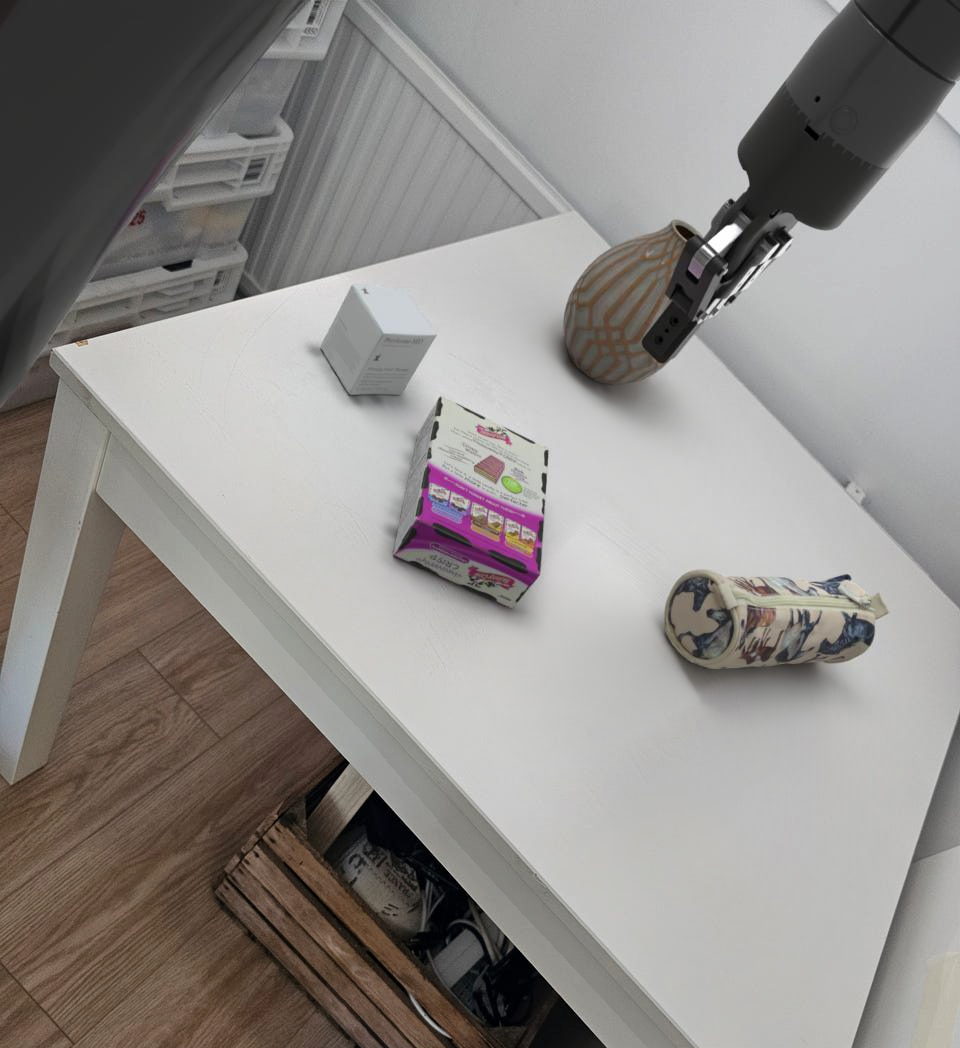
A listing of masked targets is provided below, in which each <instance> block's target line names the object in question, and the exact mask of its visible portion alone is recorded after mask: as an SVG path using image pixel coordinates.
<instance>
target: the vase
mask: <svg viewBox="0 0 960 1048" xmlns="http://www.w3.org/2000/svg"><path fill="white" fill-rule="evenodd" d="M696 234H698V235H699V236H700V237H701V238H702V239H703V238H704V236H703V235H702V233H700V231H698V230H697V229H696V228H695V227H694V226H693V225H691V224H689V223H688V222H686V221H684V220H682V219H677V218H675V219H672V220H671V221H670V222H669V223H668V224H667V225H666V226H664V227H663V228H660V229H658V230H657V231H654V232H650V233H647V234H643V235H639V236H637V237H633V238H630V239H627V240H625V241H622V242H620V243H618V244H616V245H614V246H612V247H610V248H609V249H607V250H606V251H604V252H603V253H602V254H600V255H598V256H597V257H596V258H595V259H594V260H593V261H592V262H591V263H590V264H589V265H588V266H587V267H586V269H585V270H584V271H582V274H581V275H580V276H579V277H578V278H577V280H576V282H575V284H574V286H573V287H572V289H571V291H570V293H569V295H568V298H567V302H566V303H565V309H564V313H563V321H562V323H563V327H562V329H563V336H564V341H565V344H566V345H565V346H566V348H567V353H568V356H569V357H570V359H571V361H572V362H573V364H574V365H575V366H576V368H578V369H579V371H581V373H583V374H585V376H587V377H589V378H590V379H592V380H594V381H595V382H599V383H601V384H606V385H627V384H633V383H637V382H639V381H643V380H646V379H647V378H649V377H651V376H653V375H654V374H656V373H658V372H659V371H660V370H662V369H663V368H664V367H665V366H667V365H668V363H670V361H671V360H669V361H667V362H665V363H659V362H657V361H656V360H655V359H654V358H653V357H652V356H651V355H650V354H649V353H648V352H647V351H646V350H645V349H644V348H643V346H642V339H643V338H644V336H645V335H646V334H647V332H648V331H649V330H650V329H651V327H652V326H653V325H654V323H655V322H656V321H657V320H658V318H659V317H660V316H661V314H662V313H663V312H664V311H665V309H666V308H667V307H668V305H669V304H670V303H671V302H672V300H670V299H669V298H668V297H667V296H666V295H665V292H666V289H667V287H668V284H669V282H670V280H671V277H672V275H673V272H674V270H675V267H676V265H677V263H678V260H679V258H680V255H681V253H682V250H683V248H684V247H685V244H686V242H687V241H688V240H689V239H690V238H692V237H693V236H695V235H696Z"/></svg>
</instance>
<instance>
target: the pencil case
mask: <svg viewBox="0 0 960 1048" xmlns="http://www.w3.org/2000/svg"><path fill="white" fill-rule="evenodd" d="M666 598H667V599H666V600H665V604H664V613H663V626H664V633H665V634H666V636H667V638H668V639H669V641H670V643H671V644H672V646H673V647H674V648H675V649H676V651H677V652H678V653H679V654H680V655H681V656H682V657H683V658H684V659H686V660H687V661H688V662H690V663H692V664H695V665H697V666H701V667H705V668H707V669H710V670H725V669H727V670H728V669H741V668H747V667H756V668H759V667H772V666H778V665H783V664H789V665H790V664H791V665H794V664H806V663H814V662H822V663H824V664H825V663H826V664H842V663H845V662H849V661H851V660H854V659H856V658H858V657H859V656H862V655H863V654H864V653H866V652H867V651H868V649H870V647H871V646H872V644H873V642H874V640H875V637H876V621H877V620H879V619H882V618H883V617H885V616H886V615H888V614H891V611H890V608H889V607H888V605H887V603H886V601H885V599H884V597H883V595H882V594H881V592H880V591H878V592H876V593H875V594H873V595H871V596H869V594H868V593H867V592H866V591H865V590H864V589H863V588H861V587H860V586H859V585H858V584H857V583H856V582H854V581H852V577H851V575H850V574H848V573H845V574H841V575H837V576H834V577H830V578H828V579H824V580H821V581H805V580H800V579H795V578H789V577H783V576H782V577H780V576H748V577H747V576H728V577H726V576H723V575H722V574H720V573H718V572H716V571H713V570H709V569H704V568H702V569H700V568H699V569H694V570H690V571H687V572H685V573H684V574H682V575H681V576H680V577H679V578H678V579H676V581H675V583H674V585H672V588H671V589H670V591H669V594H668V596H667V597H666Z"/></svg>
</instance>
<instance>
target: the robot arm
mask: <svg viewBox="0 0 960 1048" xmlns="http://www.w3.org/2000/svg"><path fill="white" fill-rule="evenodd" d="M311 1H312V0H0V409H2V407H3V406H4V405H5V404H6V403H7V401H8V400H9V399H10V398H11V396H12V395H13V394H14V393H15V391H16V390H17V388H18V387H19V386H20V384H21V383H22V381H24V379H25V377H26V376H27V375H28V373H29V372H30V370H31V369H32V367H33V366H34V364H35V363H36V361H37V360H38V358H39V357H40V355H41V354H42V352H43V351H44V350H45V348H46V347H47V345H48V344H49V342H50V341H51V339H52V338H53V337H54V335H55V333H56V332H57V331H58V330H59V327H60V326H61V324H62V323H63V322H64V321H65V319H66V317H67V315H68V314H69V312H71V310H72V309H73V307H74V305H75V303H76V302H77V301H78V300H79V298H80V296H81V295H82V294H83V292H84V291H85V289H86V287H87V286H88V284H89V283H90V282H91V280H92V279H93V277H94V275H95V274H96V273H97V271H98V269H99V268H100V266H101V265H102V264H103V263H104V261H105V259H106V258H107V256H108V255H109V253H110V252H111V251H112V249H113V247H114V246H115V245H116V243H117V242H118V241H119V239H120V238H121V236H122V235H123V233H124V231H125V230H126V229H127V228H128V226H129V225H130V223H131V222H132V220H133V219H134V218H135V216H136V215H137V213H138V212H139V211H140V209H141V208H142V207H143V206H144V204H145V202H146V201H147V200H148V199H149V197H150V196H151V195H152V194H153V192H154V191H155V190H156V189H157V188H158V186H159V185H160V184H161V182H162V181H163V180H164V178H165V177H166V176H167V174H168V173H169V172H170V171H171V170H172V168H173V167H174V166H175V165H176V164H177V162H178V161H179V160H180V159H181V157H182V156H183V155H184V153H186V151H187V150H188V149H189V148H190V147H191V145H192V144H193V143H194V141H196V139H197V138H198V137H199V135H200V134H201V133H202V132H203V130H204V129H205V128H206V127H207V126H208V124H209V123H210V122H211V120H212V119H213V118H214V117H215V116H216V115H217V113H218V112H219V111H220V109H221V108H222V107H223V106H224V104H226V102H227V101H228V100H229V98H230V97H231V96H232V94H233V93H234V92H235V91H236V90H237V88H238V87H239V85H241V83H242V82H243V81H244V79H245V78H246V77H247V75H248V74H249V73H250V72H251V71H252V69H253V68H254V67H255V66H256V64H257V63H258V62H259V61H260V60H261V58H262V57H263V56H264V55H265V54H266V53H267V52H268V50H269V49H270V48H271V47H272V45H273V44H274V43H275V42H276V41H277V39H278V38H279V37H280V36H281V35H282V34H283V32H284V31H285V30H286V28H287V27H289V25H290V24H291V23H292V22H293V21H294V20H295V19H296V17H297V16H298V15H299V14H300V13H301V12H302V11H303V10H304V9H305V8H306V7H307V6H308V5H309V3H310V2H311ZM957 82H960V0H849V1H848V2H847V3H846V5H845V6H844V7H843V9H842V10H840V12H838V14H836V16H834V18H832V20H831V21H830V22H829V23H828V24H827V25H826V27H824V29H823V30H822V31H821V32H820V33H819V35H818V36H817V37H816V38H815V40H813V42H812V44H811V45H810V46H809V47H808V49H807V51H805V53H804V54H803V56H802V57H801V59H800V60H799V61H798V63H797V64H796V65H795V67H794V68H793V70H792V71H791V72H790V73H789V75H788V76H787V78H786V79H785V80H784V81H783V83H782V84H781V85H780V87H779V88H778V89H777V91H776V92H775V93H774V95H773V96H772V98H771V99H770V101H769V102H768V103H767V104H766V106H765V107H764V109H763V110H762V111H761V113H760V114H759V115H758V117H757V118H756V119H755V121H753V123H752V125H751V126H750V128H749V129H748V130H747V132H745V134H744V135H743V137H742V138H741V140H740V141H739V143H738V146H737V149H736V150H737V151H736V153H737V159H738V162H739V164H740V167H741V168H742V170H743V171H744V172H745V173H746V176H747V178H748V186H747V189H746V190H745V191H744V192H742V194H741V195H740V196H738V198H737V199H736V200H735V199H733V197H731V198H729V199H727V200H726V201H725V202H724V203H723V204H722V205H721V207H720V208H719V209H718V211H716V213H715V215H714V217H712V219H711V222H710V229H709V230H708V231H707V233H706V234H705V235H704V236H703V239H702V238H701V237H700V236H699V235H698V234H696V235H695V236H693V237H692V238H690V239H689V240H688V241H687V242H686V244H685V247H684V248H683V250H682V253H681V255H680V258H679V260H678V263H677V265H676V267H675V270H674V272H673V275H672V277H671V280H670V282H669V284H668V287H667V289H666V292H665V295H666V296H667V297H668V298H669V299H670V300H672V302H671V303H670V304H669V305H668V307H667V308H666V309H665V311H664V312H663V313H662V314H661V316H660V317H659V318H658V320H657V321H656V322H655V323H654V325H653V326H652V327H651V329H650V330H649V331H648V332H647V334H646V335H645V336H644V338H643V339H642V346H643V348H644V349H645V350H646V351H647V352H648V353H649V354H650V355H651V356H652V357H653V358H654V359H655V360H656V361H657V362H659V363H665V362H667V361H669V360H670V361H671V360H673V359H675V358H677V356H678V355H679V354H680V352H681V351H682V350H683V349H684V347H685V346H686V345H687V344H688V343H689V342H690V340H691V339H692V338H693V337H694V335H695V334H696V333H697V332H698V331H699V329H700V328H701V327H702V325H704V323H705V322H706V321H707V320H710V319H712V317H715V316H717V315H718V314H719V312H720V311H721V308H722V307H723V306H724V307H728V306H729V305H730V304H731V305H732V304H733V303H734V302H735V301H736V300H737V298H738V296H740V295H741V293H743V292H745V291H746V290H747V289H749V287H750V286H751V285H752V284H753V282H754V281H755V280H756V279H757V278H758V277H760V275H761V274H762V273H763V272H764V271H766V269H768V267H769V266H770V265H772V264H773V263H774V261H776V260H777V259H778V258H780V257H781V256H782V255H783V254H784V252H787V251H788V250H789V249H790V248H791V247H792V243H793V242H794V239H795V237H793V235H792V234H791V233H789V232H790V231H791V230H792V229H794V227H795V226H796V225H797V224H798V223H801V224H803V225H805V226H807V227H809V228H812V229H814V230H819V231H833V230H836V229H837V228H839V227H840V226H841V225H842V224H843V223H844V222H845V220H846V219H847V218H848V217H849V216H850V215H851V213H852V212H853V211H854V210H855V209H856V208H857V207H858V205H860V203H861V202H862V201H863V200H864V199H865V197H866V196H868V194H869V192H870V191H871V190H873V188H874V187H875V186H876V184H877V183H878V182H879V181H880V180H881V179H882V178H883V177H884V175H885V174H886V173H887V172H888V171H889V170H890V168H891V167H892V166H893V165H894V164H895V162H896V161H897V160H898V159H899V158H900V157H901V156H902V155H903V154H904V152H906V150H907V149H908V148H909V147H910V145H911V144H912V143H913V142H914V141H915V139H916V138H917V137H919V135H920V134H921V133H922V131H923V130H924V129H925V128H926V126H927V125H928V124H929V123H930V122H931V120H932V119H933V117H934V115H935V114H936V112H937V111H938V110H939V108H940V107H941V105H942V104H943V102H944V100H945V99H946V98H947V96H948V95H949V94H950V92H951V91H952V90H953V88H954V87H955V86H956V84H957ZM670 361H669V362H670Z"/></svg>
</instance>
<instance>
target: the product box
mask: <svg viewBox="0 0 960 1048" xmlns="http://www.w3.org/2000/svg"><path fill="white" fill-rule="evenodd" d="M340 305H341V306H340V307H339V309H338V311H337V313H336V315H335V317H334V319H333V321H332V323H331V324H330V327H328V331H327V332H326V334H325V336H324V338H323V340H322V342H321V344H320V349H321V350H322V352H323V354H324V356H325V357H326V359H327V361H328V362H329V364H330V366H331V367H332V370H333V371H334V372H335V373H336V375H337V377H338V379H339V381H340V382H341V384H342V385H343V387H344V389H345V391H346V392H347V393H348V395H350V396H356V395H390V396H391V395H392V396H399V395H402V394H403V393H404V391H405V389H406V388H407V386H408V384H409V383H410V382H411V379H412V378H413V377H414V375H415V372H416V371H417V369H418V368H419V366H420V364H421V362H422V361H423V359H424V358H425V356H426V354H427V353H428V351H429V349H430V348H431V345H432V344H433V342H434V341H435V339H436V338H437V336H438V334H437V332H436V330H435V328H434V327H433V325H432V324H431V322H430V321H429V320H428V318H427V317H426V315H425V314H424V312H423V311H422V309H421V308H420V307H419V305H418V304H417V302H416V300H415V299H414V297H413V296H412V294H411V293H410V292H409V290H408V289H407V288H406V287H393V286H387V285H382V284H376V285H374V284H373V285H371V284H370V285H369V284H361V283H360V284H359V283H352V284H351V286H350V288H349V289H348V292H347V294H346V296H345V297H344V300H343V301H342V303H341V304H340Z"/></svg>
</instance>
